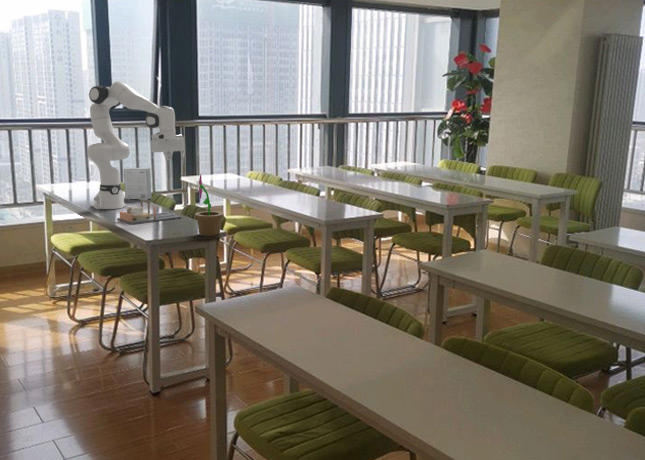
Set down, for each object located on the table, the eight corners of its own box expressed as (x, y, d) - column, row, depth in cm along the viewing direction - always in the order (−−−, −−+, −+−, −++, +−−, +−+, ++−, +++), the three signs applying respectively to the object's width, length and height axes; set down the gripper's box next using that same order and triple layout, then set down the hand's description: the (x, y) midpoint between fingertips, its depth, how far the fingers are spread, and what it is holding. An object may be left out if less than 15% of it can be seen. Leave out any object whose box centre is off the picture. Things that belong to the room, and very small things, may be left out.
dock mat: (117, 219, 388) (116, 218, 388) (165, 213, 408) (165, 212, 408) (131, 224, 376) (131, 222, 376) (181, 218, 395) (181, 216, 395)
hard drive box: (152, 198, 462) (150, 167, 458) (148, 200, 455) (146, 169, 451) (128, 197, 464) (127, 167, 459) (124, 199, 456) (123, 168, 452)
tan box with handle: (124, 217, 387) (123, 200, 385) (142, 215, 394) (141, 198, 392) (132, 220, 380) (131, 202, 378) (151, 218, 387) (150, 200, 385)
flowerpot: (196, 230, 363) (195, 172, 357) (224, 230, 364) (223, 172, 358) (193, 236, 349) (192, 176, 343) (222, 236, 350) (221, 176, 344)
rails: (122, 219, 385) (122, 217, 385) (168, 213, 404) (168, 211, 403) (129, 221, 380) (129, 219, 379) (175, 215, 398) (175, 213, 398)
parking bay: (118, 218, 388) (117, 205, 387) (142, 215, 397) (142, 202, 396) (131, 222, 376) (131, 209, 375) (156, 219, 386) (156, 206, 385)
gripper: (180, 134, 410) (181, 158, 413) (148, 135, 397) (149, 160, 400) (186, 134, 406) (187, 159, 408) (154, 136, 392) (155, 161, 395)
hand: (168, 159), depth 404 cm, fingers closed
